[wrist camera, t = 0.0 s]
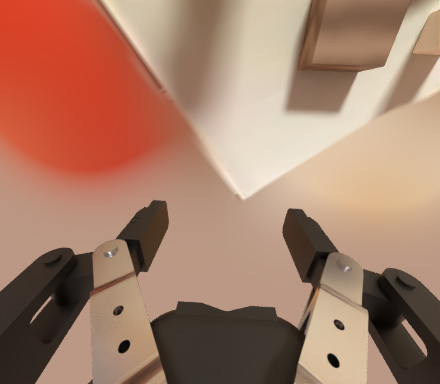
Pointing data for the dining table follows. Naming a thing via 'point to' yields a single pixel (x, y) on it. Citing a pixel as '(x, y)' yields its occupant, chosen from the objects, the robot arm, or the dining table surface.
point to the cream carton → (429, 36)
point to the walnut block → (351, 34)
